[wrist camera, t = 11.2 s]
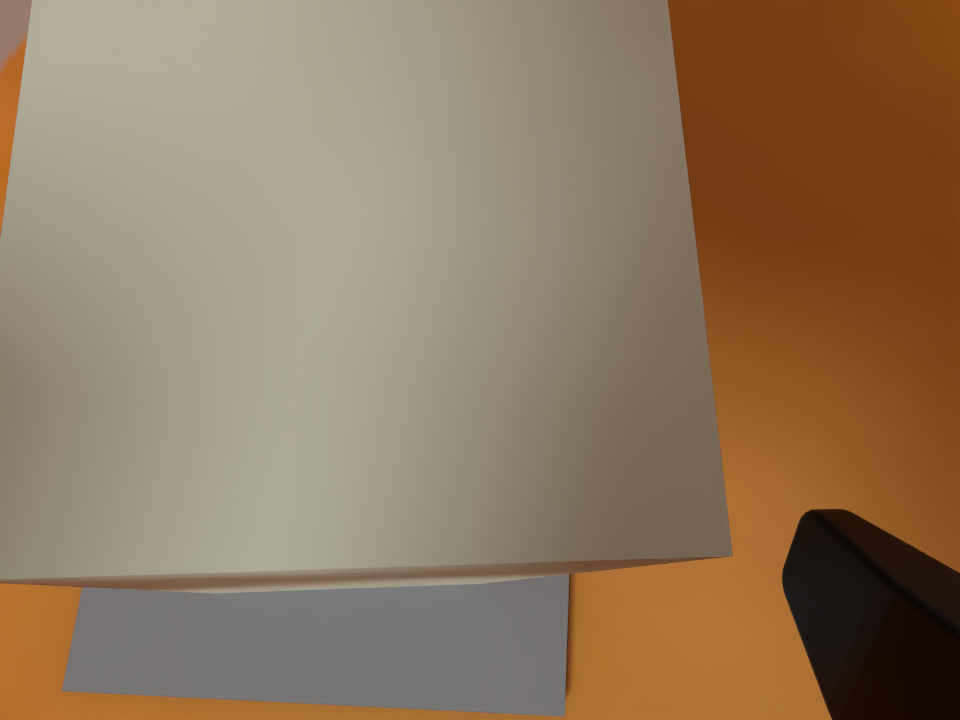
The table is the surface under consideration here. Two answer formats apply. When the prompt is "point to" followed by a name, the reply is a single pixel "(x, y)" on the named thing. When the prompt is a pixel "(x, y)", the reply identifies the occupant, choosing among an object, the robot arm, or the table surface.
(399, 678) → the slate mat
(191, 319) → the sage pillar
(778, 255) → the table surface
